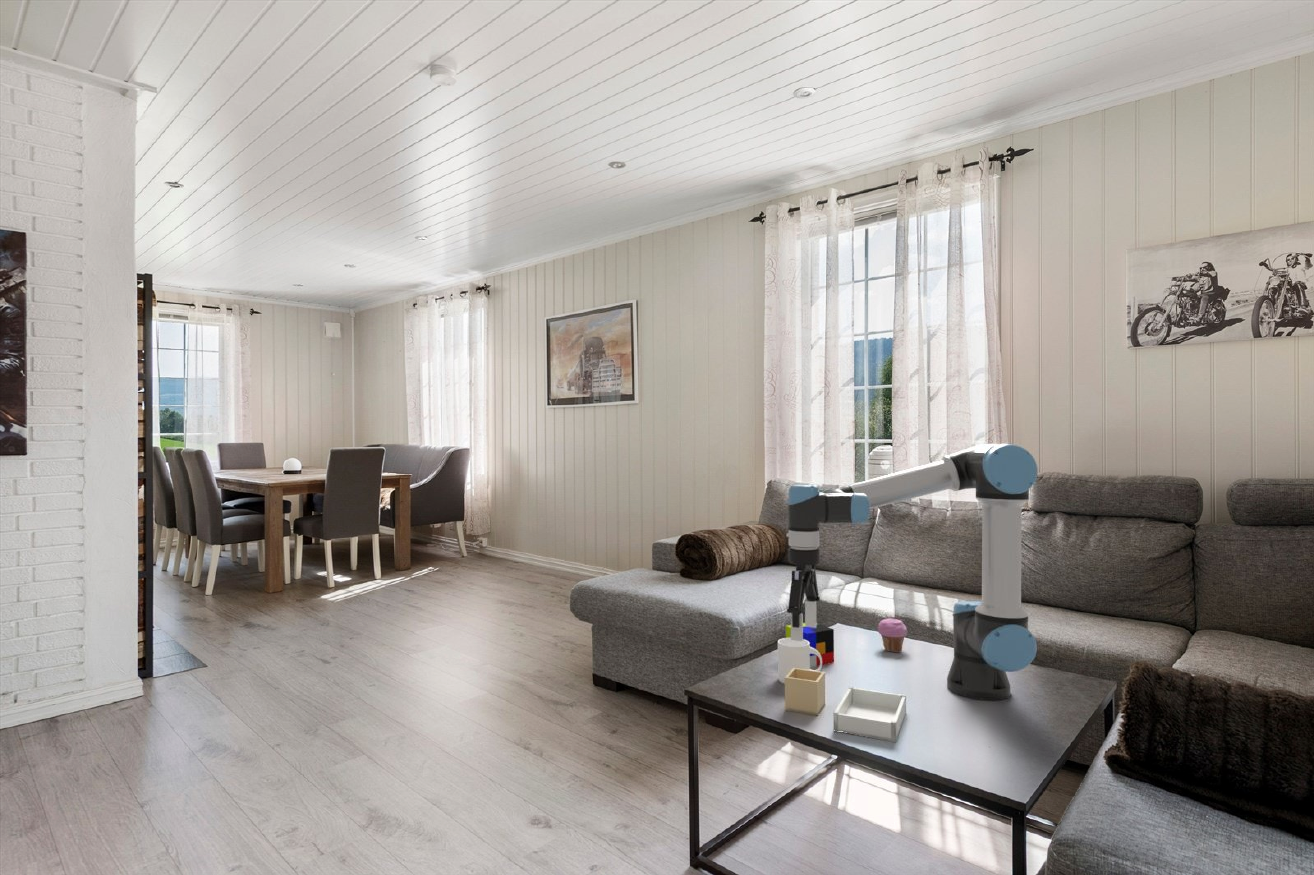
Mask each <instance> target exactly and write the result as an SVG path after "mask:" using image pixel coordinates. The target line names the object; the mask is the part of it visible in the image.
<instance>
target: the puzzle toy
mask: <svg viewBox="0 0 1314 875" xmlns="http://www.w3.org/2000/svg"><path fill="white" fill-rule="evenodd" d="M834 631H835V630H834V628H831V627H829V626H825V625H822V624H819V623H818V622H816V628H814V627H805V622H803V639H804V640H807V641H809V643H810V647H812V648H814V649H816V650H817V651H818V652H819V653H820V655H821V657H822V666H825V665H829V664H828V663H830V664H833V663H832V662H834V663H835V632H834ZM785 638H791V624H788V625H785ZM820 664H821V662H820V659H819V657H818V656H817V655H815V654H810V668H814V667H815V668H816V667H820ZM824 664H825V665H824Z"/></svg>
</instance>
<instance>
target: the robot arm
mask: <svg viewBox="0 0 1314 875" xmlns="http://www.w3.org/2000/svg"><path fill="white" fill-rule="evenodd" d="M1038 470H1039V469H1038V464H1037V461H1036V459H1035V458H1034V456H1033V455H1032V454H1031V453H1030V452H1029V451H1028V450H1027V449H1026V448H1024V447H1022V446H1020V445H1017V444H1012V443H1006V442H1003V443H983V444H978V445H975V446H972V447H969V448H967V449H966V448H965V449H964V450H960V451H957V452H955V453H952V454H951V453H950V454H948V455H944V456H942V458H941V460H940V461H936V462H932V463H928V464H925V465H921V466H916V467H913V468H910V469H906V470H902V471H898V472H894V473H890V474H888V475H887V474H886V475H882V476H880V477H876V478H872V479H868V480H865V481H861V482H860V481H859V482H855V483H852V484H849V485H845V486H841V487H838V488H832V487H831V488H828V489H825V490H823V491H820V487H819V485H816V484H793V485H791V486H790V487H789V489H788V500H787V517H788V518H787V519H788V520H787V521H788V522H787V523H788V525H787V526H788V532H787V533H786V535H785V536H786V537H788V546H789V548H788V549H787V551H788V553H787V554H788V562H789V564H792V565H795V570H791V582H790V591H789V592H790V593H789V599H788V607H787V609H786V613H787V614H790V625H791V640H795V641H803V623H805V627H814V628H816V623H817V602H820V600H821V598H820V596H819V590H818V581H817V574H816V572H817V571H816V565H818V564H820V549H819V547H820V524H852V525H857V524H858V525H859V524H866V523H867V522H868V521H869V518H870V514H871V513H870V511H871V510H872V509H876V508H880V507H883V506H888V505H890V504H891V505H892V504H895V503H899V502H903V501H907V500H911V499H915V498H919V497H923V496H926V495H927V496H928V495H931V494H934V493H938V492H942V491H946V490H951V491H953V492H957V491H961V490H967V489H975V499H976V500H977V501H978V502H979V503H980V504H981V506H982V508H981V509H982V512H981V514H982V515H981V516H982V517H981V518H982V522H981V523H982V526H981V528H982V530H981V536H982V537H981V539H982V540H981V556H982V557H981V559H982V560H981V601H979V600H977V601H973V600H972V601H970V600H969V601H968V600H967V601H957V602H956V603H954V604H953V612H952V618H953V620H952V621H953V624H952V626H953V629H952V630H953V659H952V662H951V665H950V668H949V671H948V674H947V676H946V686H947V689H949V691H951V692H952V693H954V694H957V695H959V696H962V697H966V698H969V699H975V700H976V699H977V700H983V701H999V700H1005V699H1008V698H1009V697H1010V696H1011V693H1012V692H1011V688H1012V687H1011V684H1010V680H1009V678H1008V675H1007V673H1014V672H1018V671H1019V672H1020V671H1022V670H1024V669H1026V667H1028V666H1029V665H1030V664H1031V663H1032V662H1033V661H1034V659H1035V657H1036V654H1037V651H1038V650H1037V649H1038V645H1037V641H1036V639H1035V636H1034V634H1033V633H1032V632H1031V631H1030V630H1029V613H1028V612H1027V611H1026V610H1025V608H1023V606H1022V521H1023V520H1022V510H1023V509H1022V507H1023V506H1024V505H1025V504H1026V503H1028V502H1029V499H1030V489H1031V488H1032V486H1033V485H1034V484H1035V483H1036V480H1038V479H1037V478H1038V473H1039V472H1038ZM804 599H806V600H804ZM804 601H805V602H804ZM804 604H805V605H804ZM803 606H804V607H805V608H804V612H805V614H804V613H803V611H802V610H803ZM803 614H804V615H803ZM804 621H805V622H804Z"/></svg>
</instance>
